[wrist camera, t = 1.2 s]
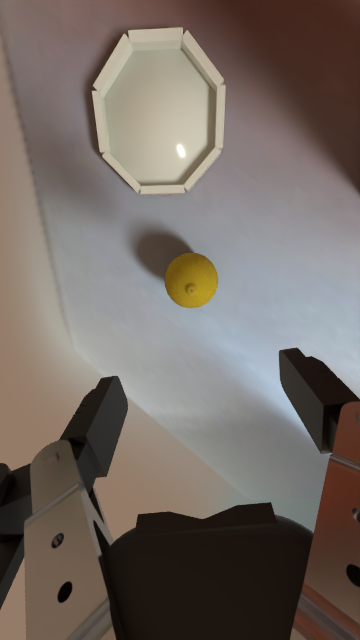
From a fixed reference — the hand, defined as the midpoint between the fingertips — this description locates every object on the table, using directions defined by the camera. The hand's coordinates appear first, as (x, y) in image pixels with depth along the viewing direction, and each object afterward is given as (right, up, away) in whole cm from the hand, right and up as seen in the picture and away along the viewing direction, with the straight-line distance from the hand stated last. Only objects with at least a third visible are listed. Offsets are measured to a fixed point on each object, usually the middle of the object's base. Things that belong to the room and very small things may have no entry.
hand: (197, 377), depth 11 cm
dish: (-3, +22, +11) cm, 24 cm away
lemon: (0, +9, +16) cm, 18 cm away
